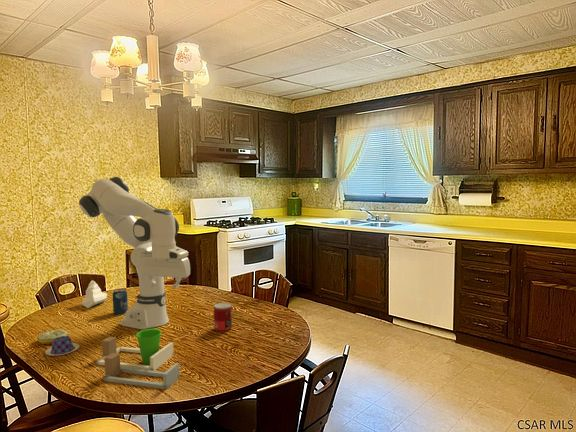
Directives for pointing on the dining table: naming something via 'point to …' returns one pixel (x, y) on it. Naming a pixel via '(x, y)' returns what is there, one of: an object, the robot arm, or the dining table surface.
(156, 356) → the frame
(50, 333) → the decorated donut
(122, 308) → the soda can
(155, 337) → the cup
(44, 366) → the dining table surface
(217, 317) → the canned food
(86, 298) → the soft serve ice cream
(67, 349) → the checkered hat
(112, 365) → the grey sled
